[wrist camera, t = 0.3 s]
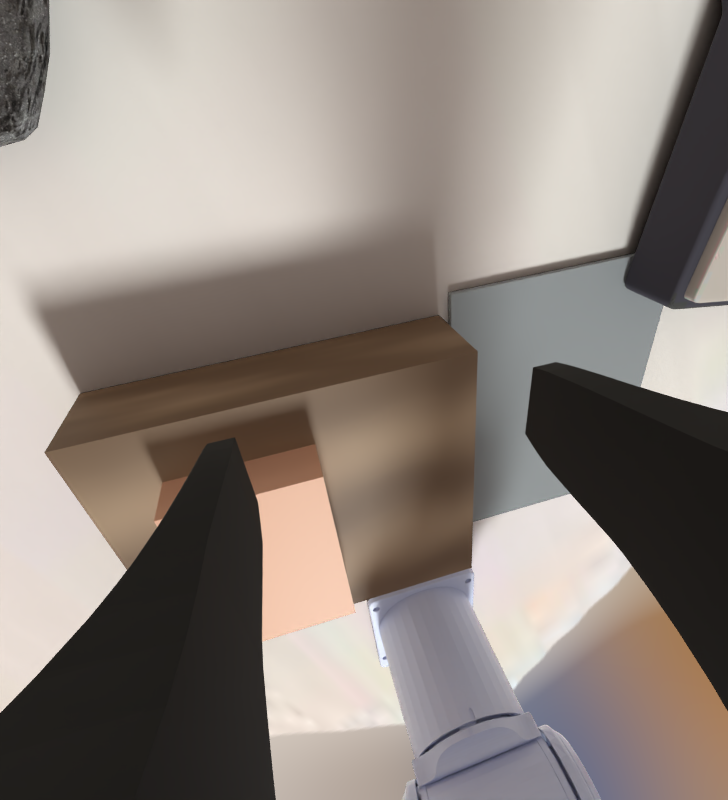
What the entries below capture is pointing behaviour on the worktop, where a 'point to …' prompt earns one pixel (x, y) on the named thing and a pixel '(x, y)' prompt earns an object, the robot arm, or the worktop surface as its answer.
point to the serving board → (22, 66)
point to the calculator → (692, 200)
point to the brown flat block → (303, 444)
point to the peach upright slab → (292, 542)
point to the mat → (543, 362)
